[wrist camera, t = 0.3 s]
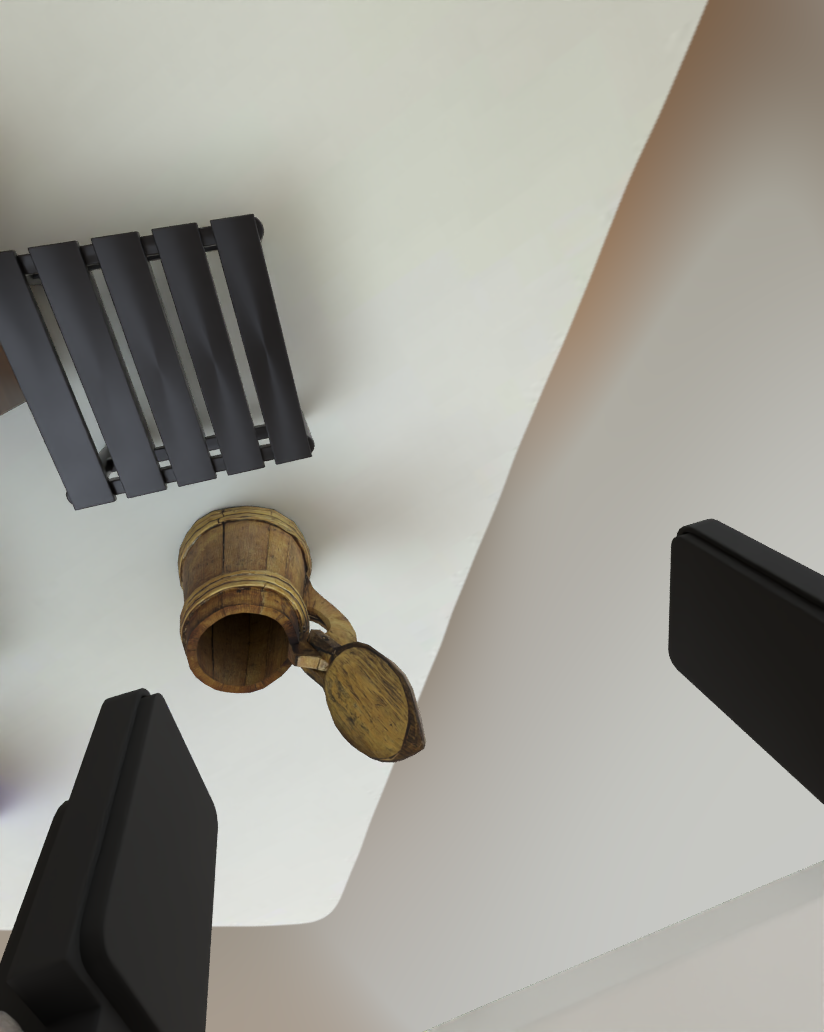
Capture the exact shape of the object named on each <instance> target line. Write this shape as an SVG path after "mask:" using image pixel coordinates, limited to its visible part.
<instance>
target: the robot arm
mask: <svg viewBox="0 0 824 1032" xmlns="http://www.w3.org/2000/svg"><path fill="white" fill-rule="evenodd" d="M668 650H669V656H670V659H671V661H672V663H673V665H674V666H675V667H676V669H677V670H678V671H679V672H681V673H682V674H683V675H684V676H685V677H686V678H687V679H688V680H689V681H690V682H691V683H693V685H695V686H696V687H697V688H698V689H699V690H700V691H701V692H702V693H703V694H704V695H705V696H706V697H708V698H709V699H710V700H711V701H712V702H713V703H714V704H715V705H716V706H717V707H718V708H720V709H721V710H722V711H723V712H724V713H725V714H726V715H727V716H728V717H729V718H731V720H733V721H734V722H735V723H736V724H737V725H738V726H739V727H740V728H741V729H742V730H743V731H744V732H746V733H747V734H748V735H749V736H750V737H751V738H752V739H753V740H754V741H755V742H756V743H757V744H759V745H760V746H761V747H762V748H763V749H764V750H765V751H766V752H767V753H768V754H769V755H771V756H772V757H773V758H774V759H775V760H776V761H777V762H778V763H779V764H780V765H781V766H782V767H784V768H785V769H786V770H787V771H788V772H789V773H790V774H791V775H792V776H793V777H795V778H796V779H797V780H798V781H799V782H800V783H801V784H802V785H803V786H804V787H805V788H806V789H808V790H809V791H810V792H811V793H812V794H813V795H814V796H815V797H816V798H817V799H819V801H820V802H822V803H823V804H824V576H823V575H821V574H819V573H817V572H815V571H813V570H812V569H809V568H808V567H806V566H804V565H802V564H800V563H798V562H796V561H794V560H792V559H790V558H789V557H786V556H785V555H783V554H781V553H779V552H777V551H775V550H773V549H771V548H769V547H767V546H766V545H764V544H762V543H760V542H758V541H756V540H754V539H752V538H750V537H748V536H746V535H744V534H743V533H741V532H739V531H737V530H735V529H733V528H731V527H729V526H727V525H725V524H723V523H721V522H719V521H718V520H714V519H707V520H703V521H700V522H697V523H693V524H690V525H687V526H683V527H682V528H680V529H679V531H678V533H677V537H675V538H674V539H673V540H672V544H671V572H670V607H669V645H668ZM217 833H218V821H217V814H216V810H215V806H214V803H213V801H212V799H211V797H210V795H209V793H208V791H207V788H206V786H205V784H204V782H203V780H202V778H201V776H200V774H199V772H198V769H197V767H196V765H195V763H194V761H193V759H192V757H191V755H190V753H189V750H188V748H187V746H186V744H185V742H184V740H183V738H182V736H181V733H180V731H179V729H178V727H177V725H176V723H175V721H174V719H173V717H172V714H171V712H170V710H169V708H168V706H167V704H166V702H165V700H164V698H163V696H162V695H161V694H160V693H156V694H153V695H150V693H149V692H148V691H147V690H146V689H144V688H141V689H138V690H135V691H131V692H128V693H125V694H121V695H118V696H115V697H111V698H108V699H106V700H105V701H104V703H103V704H102V707H101V710H100V713H99V715H98V718H97V721H96V724H95V727H94V730H93V733H92V735H91V738H90V741H89V744H88V747H87V750H86V753H85V755H84V758H83V761H82V764H81V767H80V770H79V773H78V775H77V778H76V781H75V784H74V787H73V790H72V793H71V795H70V798H69V800H68V801H65V802H64V803H63V804H62V805H61V806H60V807H59V808H58V810H57V812H56V814H55V816H54V818H53V821H52V824H51V826H50V829H49V832H48V834H47V837H46V840H45V843H44V845H43V848H42V851H41V853H40V856H39V859H38V862H37V864H36V867H35V870H34V873H33V875H32V878H31V881H30V883H29V886H28V889H27V892H26V894H25V897H24V900H23V903H22V905H21V908H20V911H19V913H18V916H17V919H16V922H15V924H14V927H13V930H12V933H11V935H10V938H9V941H8V943H7V946H6V949H5V952H4V955H3V957H2V960H1V963H0V1032H205V1026H206V1010H207V995H208V978H209V963H210V945H211V930H212V914H213V898H214V882H215V865H216V849H217ZM424 1032H824V861H821V862H819V863H817V864H814V865H812V866H809V867H807V868H805V869H802V870H800V871H797V872H795V873H793V874H790V875H788V876H786V877H783V878H781V879H778V880H776V881H774V882H771V883H769V884H767V885H764V886H762V887H759V888H757V889H755V890H752V891H750V892H748V893H745V894H743V895H741V896H738V897H736V898H734V899H731V900H729V901H727V902H724V903H722V904H719V905H717V906H715V907H712V908H710V909H708V910H706V911H703V912H701V913H698V914H696V915H694V916H691V917H689V918H687V919H684V920H682V921H680V922H677V923H675V924H673V925H671V926H668V927H666V928H663V929H661V930H658V931H656V932H654V933H651V934H649V935H647V936H644V937H642V938H640V939H637V940H635V941H633V942H630V943H628V944H626V945H623V946H621V947H619V948H616V949H614V950H612V951H609V952H607V953H605V954H602V955H600V956H598V957H595V958H593V959H591V960H588V961H586V962H584V963H581V964H579V965H577V966H574V967H572V968H569V969H567V970H565V971H563V972H560V973H558V974H556V975H553V976H551V977H549V978H546V979H544V980H542V981H539V982H537V983H535V984H532V985H530V986H528V987H526V988H523V989H521V990H518V991H516V992H514V993H512V994H509V995H507V996H505V997H503V998H500V999H498V1000H496V1001H493V1002H491V1003H488V1004H486V1005H484V1006H482V1007H479V1008H477V1009H475V1010H473V1011H470V1012H468V1013H465V1014H463V1015H461V1016H459V1017H456V1018H454V1019H452V1020H449V1021H447V1022H445V1023H442V1024H440V1025H438V1026H436V1027H433V1028H431V1029H429V1030H426V1031H424Z"/></svg>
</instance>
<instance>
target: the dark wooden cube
mask: <svg viewBox="0 0 824 1032" xmlns="http://www.w3.org/2000/svg"><path fill="white" fill-rule="evenodd" d="M24 402H26V399H25V397H24V395H23V392H22V390H21V388H20V386H19V383H18V381H17V379H16V377H15V375H14V372H13V370H12V368H11V366H10V363H9V361H8V359H7V357H6V354H5V352H4V350H3V348H2V345H1V343H0V416H1V415H3V414H4V413H6V412H8V411H10V410H12V409H13V408H15V407H17V406H19V405H21V404H22V403H24Z"/></svg>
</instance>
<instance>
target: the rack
mask: <svg viewBox="0 0 824 1032" xmlns="http://www.w3.org/2000/svg"><path fill="white" fill-rule="evenodd" d="M210 223H211V226H208V227H202V228H198V225H197V223H189V224H182V225H176V226H169V227H163V228H156V229H152V234H153V235H149V236H143V237H140V235H139V233H138V232H129V233H123V234H116V235H110V236H103V237H96V238H91V242H92V244H90V245H84V246H80V245H79V243H78V241H70V242H63V243H57V244H50V245H43V246H37V247H30V248H28V251H29V253H30V254H25V255H18V256H17V254H16V251H13V250H10V251H4V252H0V343H1V345H2V348H3V350H4V352H5V354H6V357H7V359H8V361H9V363H10V366H11V368H12V370H13V372H14V375H15V377H16V379H17V381H18V383H19V386H20V388H21V390H22V392H23V395H24V397H25V399H26V401H27V404H28V406H29V408H30V410H31V412H32V415H33V417H34V419H35V421H36V424H37V426H38V428H39V430H40V433H41V435H42V437H43V439H44V442H45V444H46V446H47V448H48V450H49V453H50V455H51V457H52V459H53V462H54V464H55V466H56V468H57V471H58V473H59V475H60V477H61V479H62V482H63V484H64V486H65V488H66V491H67V492H66V497H67V499H68V501H69V502H70V503H71V504H73V506H74V509H75V510H79V509H84V508H88V507H93V506H97V505H101V504H106V503H110V502H115V501H116V499H117V498H116V495H118V494H122V493H126V495H127V498H132V497H137V496H141V495H145V494H150V493H154V492H159V491H163V490H166V489H167V483H171V482H176V481H177V484H178V486H179V487H181V486H185V485H189V484H194V483H198V482H203V481H207V480H211V479H216V478H217V475H216V472H220V471H225V470H226V471H227V474H228V475H233V474H238V473H242V472H247V471H251V470H255V469H260V468H264V467H265V464H264V461H269V460H273V459H275V463H276V465H277V464H282V463H286V462H291V461H295V460H299V459H304V458H308V457H312V454H311V453H312V451H313V450H314V446H315V445H314V441H313V438H312V436H311V433H310V430H309V428H308V425H307V422H306V420H305V417H304V414H303V412H302V411H301V408H300V404H299V400H298V396H297V392H296V388H295V383H294V379H293V375H292V371H291V367H290V363H289V359H288V354H287V350H286V346H285V342H284V338H283V334H282V329H281V325H280V321H279V317H278V313H277V309H276V305H275V300H274V296H273V292H272V288H271V284H270V280H269V276H268V271H267V267H266V263H265V259H264V255H263V251H262V246H261V242H262V238H263V234H264V229H263V225H262V223H261V222H260V221H259V219H257V218H256V217H254V214H249V215H242V216H235V217H229V218H222V219H216V220H210ZM216 250H218V252H219V256H220V260H221V263H222V267H223V271H224V275H225V278H226V282H227V286H228V289H229V293H230V297H231V300H232V304H233V308H234V311H235V315H236V319H237V322H238V326H239V330H240V334H241V337H242V341H243V345H244V348H245V352H246V356H247V359H248V363H249V367H250V370H251V374H252V378H253V381H254V385H255V389H256V393H257V396H258V400H259V404H260V407H261V411H262V415H263V418H264V422H265V424H263V425H258V426H254V424H253V420H252V416H251V413H250V409H249V406H248V402H247V399H246V395H245V391H244V388H243V384H242V381H241V377H240V374H239V370H238V366H237V363H236V359H235V356H234V352H233V349H232V345H231V342H230V338H229V334H228V331H227V327H226V324H225V320H224V317H223V313H222V309H221V306H220V302H219V299H218V295H217V292H216V288H215V284H214V281H213V277H212V274H211V270H210V267H209V263H208V259H207V256H206V253H205V252H210V251H216ZM160 259H161V262H162V266H163V269H164V272H165V275H166V279H167V282H168V285H169V288H170V291H171V295H172V298H173V301H174V304H175V307H176V311H177V314H178V317H179V320H180V323H181V327H182V330H183V333H184V336H185V339H186V343H187V346H188V349H189V352H190V355H191V359H192V362H193V365H194V368H195V371H196V375H197V378H198V381H199V384H200V387H201V391H202V394H203V397H204V400H205V403H206V407H207V410H208V413H209V416H210V419H211V423H212V426H213V429H214V432H215V435H212V436H207V437H205V433H204V430H203V427H202V424H201V421H200V418H199V415H198V412H197V408H196V405H195V402H194V399H193V396H192V393H191V390H190V387H189V383H188V380H187V377H186V374H185V371H184V368H183V365H182V362H181V358H180V355H179V352H178V349H177V346H176V343H175V340H174V337H173V334H172V330H171V327H170V324H169V321H168V318H167V315H166V312H165V309H164V305H163V302H162V299H161V296H160V293H159V290H158V287H157V284H156V280H155V277H154V274H153V271H152V268H151V265H150V262H149V261H154V260H160ZM98 269H101V270H102V273H103V275H104V278H105V281H106V284H107V287H108V289H109V292H110V295H111V298H112V301H113V304H114V306H115V309H116V312H117V315H118V318H119V320H120V323H121V326H122V329H123V332H124V335H125V337H126V340H127V343H128V346H129V349H130V351H131V354H132V357H133V360H134V363H135V365H136V368H137V371H138V374H139V377H140V380H141V382H142V385H143V388H144V391H145V394H146V396H147V399H148V402H149V405H150V408H151V411H152V413H153V416H154V419H155V422H156V425H157V427H158V430H159V433H160V436H161V439H162V441H163V444H164V446H160V447H156V448H155V445H154V442H153V439H152V437H151V434H150V431H149V428H148V426H147V423H146V420H145V417H144V415H143V412H142V409H141V406H140V404H139V401H138V398H137V395H136V392H135V390H134V387H133V384H132V381H131V379H130V376H129V373H128V370H127V368H126V365H125V362H124V359H123V357H122V354H121V351H120V348H119V346H118V343H117V340H116V337H115V335H114V332H113V329H112V326H111V324H110V321H109V318H108V315H107V312H106V310H105V307H104V304H103V301H102V299H101V296H100V293H99V290H98V288H97V285H96V282H95V279H94V277H93V274H92V270H98ZM41 284H42V286H43V288H44V291H45V293H46V296H47V298H48V301H49V303H50V306H51V308H52V311H53V313H54V315H55V318H56V320H57V323H58V325H59V328H60V330H61V333H62V335H63V338H64V340H65V343H66V345H67V348H68V350H69V353H70V355H71V358H72V360H73V363H74V365H75V368H76V370H77V373H78V375H79V378H80V380H81V383H82V385H83V388H84V390H85V393H86V395H87V398H88V400H89V403H90V405H91V408H92V410H93V413H94V415H95V418H96V420H97V423H98V425H99V428H100V430H101V433H102V435H103V438H104V440H105V443H106V445H107V447H105V448H103V449H102V450H101V451H100V452H99V454H98V452H97V449H96V447H95V444H94V442H93V439H92V437H91V434H90V432H89V430H88V427H87V425H86V422H85V420H84V417H83V415H82V412H81V410H80V408H79V405H78V403H77V400H76V398H75V395H74V393H73V390H72V388H71V386H70V383H69V381H68V378H67V376H66V373H65V371H64V368H63V366H62V364H61V361H60V359H59V356H58V354H57V351H56V349H55V346H54V344H53V342H52V339H51V337H50V334H49V332H48V329H47V327H46V324H45V322H44V320H43V317H42V315H41V312H40V310H39V307H38V305H37V303H36V300H35V298H34V295H33V293H32V290H31V288H30V285H41ZM266 438H269V440H270V444H265V445H261V446H259V442H258V440H262V439H266ZM216 449H220V451H221V454H220V455H215V456H210V453H209V451H211V450H216ZM166 460H169V461H170V464H171V465H170V466H166V467H161V468H160V465H159V462H161V461H166ZM115 471H117V473H118V475H119V477H116V478H111V479H109V478H108V477H109V475H110V474H111V472H115Z"/></svg>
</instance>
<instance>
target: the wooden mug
mask: <svg viewBox="0 0 824 1032" xmlns="http://www.w3.org/2000/svg"><path fill="white" fill-rule="evenodd" d="M311 567H312V562H311V557H310V552H309V548H308V546H307V544H306V541H305V539H304V537H303V534H302V533H301V532H300V530H299V529H298V527H297V526H296V524H295V523H294V522H293V521H291V520H290V519H288V518H287V517H285V516H283V515H282V514H280V513H278V512H277V511H275V510H273V509H266V508H260V507H252V506H241V507H234V508H227V509H222V510H217V511H213V512H211V513H209V514H208V515H206V516H204V517H203V518H201V519H199V520H198V521H196V522H195V524H194V525H193V526H192V528H191V529H190V530H189V531H188V533H187V534H186V536H185V538H184V540H183V542H182V544H181V547H180V550H179V558H178V570H179V578H180V585H181V587H182V589H183V593H184V606H183V609H182V612H181V615H180V635H181V640H182V644H183V647H184V650H185V654H186V656H187V659H188V663H189V667H190V669H191V671H192V672H193V674H194V675H195V676H196V677H197V678H198V679H199V680H200V681H202V682H203V683H204V684H206V685H208V686H210V687H211V688H213V689H215V690H219V691H223V692H230V693H251V692H254V691H257V690H260V689H263V688H265V687H266V686H268V685H269V684H271V683H272V682H274V681H275V680H276V679H278V678H279V677H281V676H282V675H283V674H284V673H285V672H286V671H287V670H288V669H289V668H290V666H291V665H292V664H293V665H294V666H298V667H301V668H302V669H303V671H304V672H305V673H306V674H307V675H308V676H310V677H311V678H312V679H313V680H314V681H315V682H317V683H318V684H319V685H320V686H321V687H323V689H324V692H325V695H326V701H327V705H328V708H329V710H330V713H331V716H332V719H333V721H334V724H335V726H336V727H337V729H338V730H339V732H340V733H341V734H342V736H343V737H344V738H345V739H346V740H347V741H348V742H349V743H350V744H351V745H352V746H353V747H355V748H356V749H357V750H359V751H360V752H362V753H364V754H365V755H367V756H368V757H370V758H372V759H375V760H378V761H380V762H397V761H401V760H404V759H406V758H408V757H410V756H413V755H415V754H416V753H418V752H419V751H421V750H423V749H424V747H425V743H426V739H425V734H424V729H423V724H422V719H421V716H420V712H419V709H418V705H417V702H416V698H415V695H414V691H413V688H412V686H411V684H410V682H409V680H408V679H407V677H406V675H405V674H404V673H403V671H402V670H401V669H400V668H399V667H398V666H397V665H396V664H395V663H394V662H392V661H391V660H389V659H388V658H387V657H385V656H384V655H382V654H381V653H379V652H378V651H377V650H375V649H374V648H372V647H371V646H370V645H367V644H364V643H360V642H357V638H356V633H355V631H354V629H353V627H352V626H351V624H350V622H349V621H348V619H347V618H346V617H345V616H344V615H343V614H342V613H341V612H340V611H339V610H338V609H337V608H336V607H334V606H333V605H332V604H331V603H329V602H328V601H327V600H326V599H324V598H323V597H322V596H321V595H320V594H319V593H318V592H317V591H315V590H314V589H313V587H312V585H311V583H310V580H309V579H310V575H311ZM309 621H313V622H315V623H318V624H320V625H321V626H322V627H323V628H325V629H326V630H327V633H324V632H322V631H321V630H312V629H311V631H310V633H309Z"/></svg>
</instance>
